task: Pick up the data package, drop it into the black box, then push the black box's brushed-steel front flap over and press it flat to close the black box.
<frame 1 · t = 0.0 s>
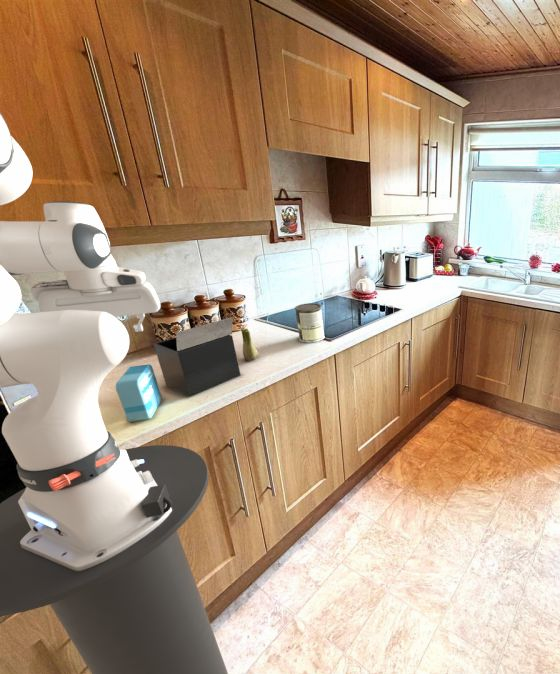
hand: (114, 334, 85), 25 cm above the worktop, tool pointing down, fingers open, 8 cm apart
coffee can: (312, 338, 152), on the worktop
black box: (204, 380, 115), on the worktop
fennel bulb: (251, 359, 131), on the worktop
flap: (206, 333, 105), point 18 cm above the worktop, hinge at 110.0°
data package: (146, 411, 99), on the worktop
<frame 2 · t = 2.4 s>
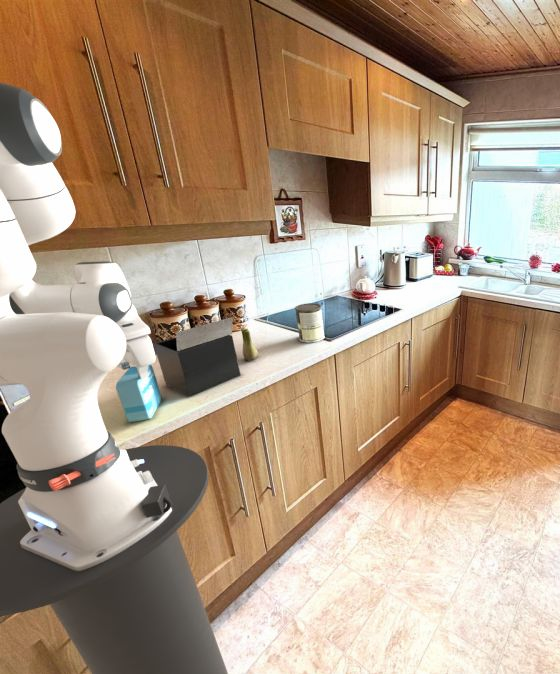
hand: (134, 372, 95), 12 cm above the worktop, tool pointing down
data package: (146, 411, 99), on the worktop, touching gripper
everything else where it was.
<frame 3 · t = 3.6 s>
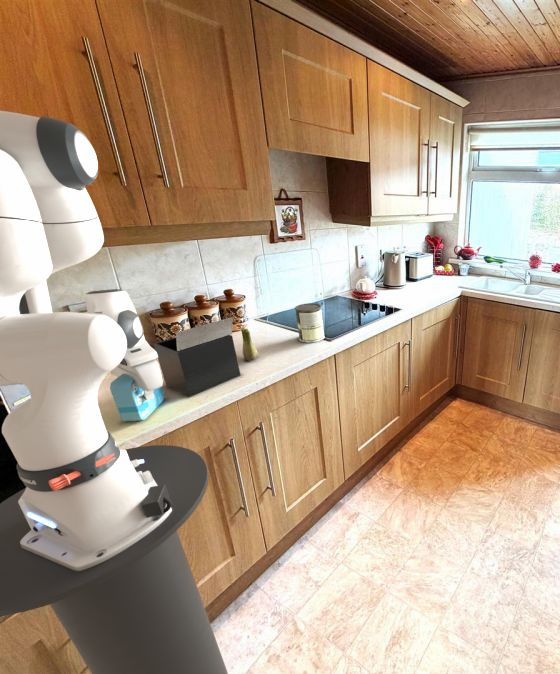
hand: (141, 394, 97), 5 cm above the worktop, tool pointing down, fingers closed on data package, 7 cm apart
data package: (145, 411, 99), on the worktop, touching gripper
everything else where it was.
when the fingers open (11 cm above the worktop, at t = 10.1 s): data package drops 6 cm, resting on black box.
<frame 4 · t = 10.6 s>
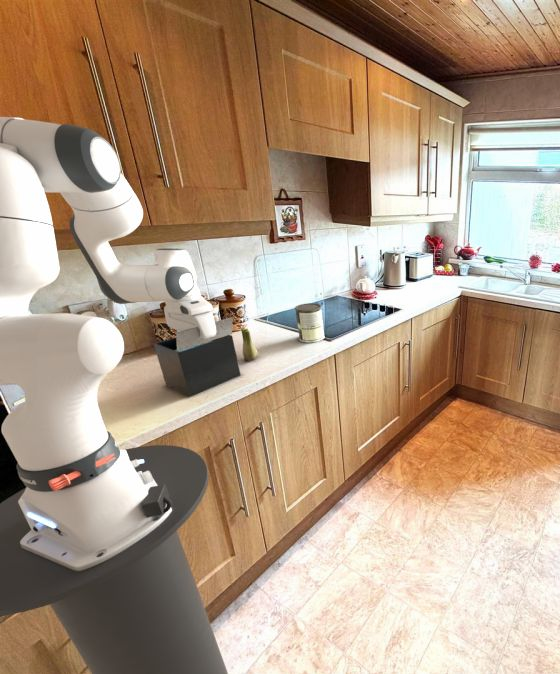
hand: (195, 345, 111), 13 cm above the worktop, tool pointing down, fingers open, 8 cm apart
flap: (206, 333, 105), point 18 cm above the worktop, hinge at 110.0°, touching gripper
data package: (203, 379, 115), resting on black box
everything else where it was.
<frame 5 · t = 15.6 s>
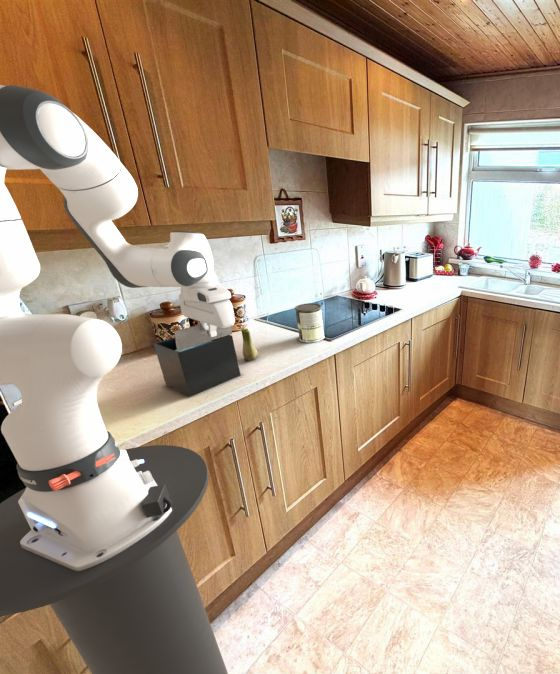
hand: (211, 335, 105), 18 cm above the worktop, tool pointing down, fingers closed
flap: (205, 332, 106), point 18 cm above the worktop, hinge at 102.8°, touching gripper
everything else where it was.
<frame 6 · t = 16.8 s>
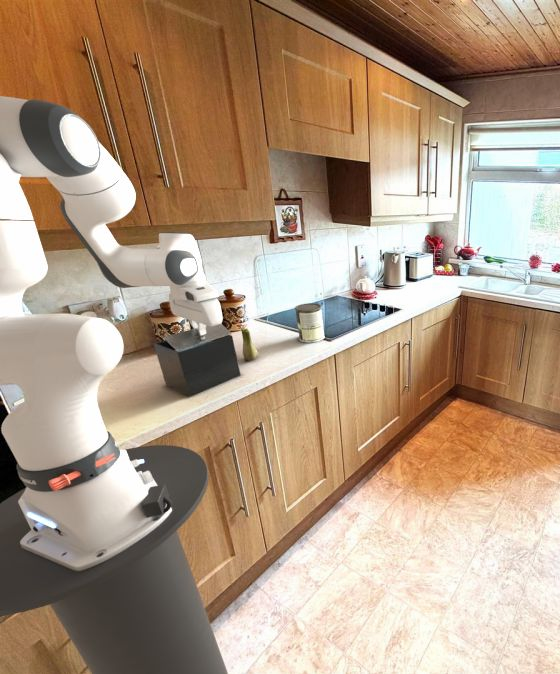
hand: (200, 333, 107), 17 cm above the worktop, tool pointing down, fingers closed
flap: (199, 335, 108), point 17 cm above the worktop, hinge at 27.7°
everything else where it was.
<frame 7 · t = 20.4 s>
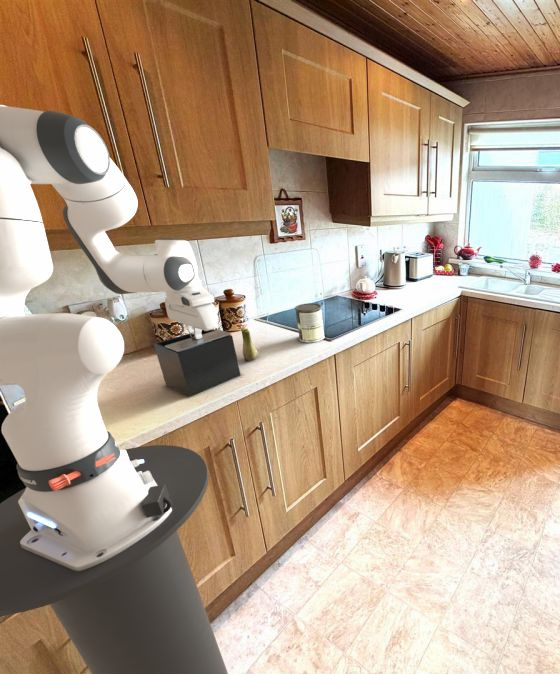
hand: (196, 338, 109), 15 cm above the worktop, tool pointing down, fingers closed, pressing on flap
flap: (199, 339, 108), point 15 cm above the worktop, hinge at 0.3°, touching gripper
everything else where it was.
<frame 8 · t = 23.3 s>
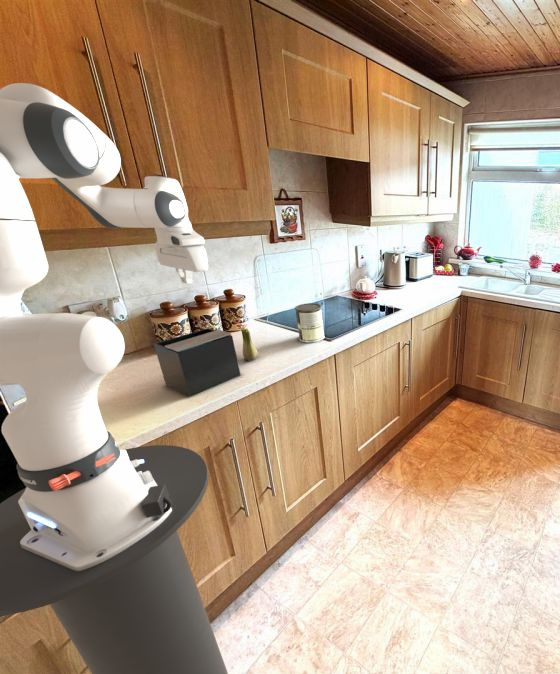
hand: (187, 283, 109), 31 cm above the worktop, tool pointing down, fingers closed
flap: (199, 339, 108), point 15 cm above the worktop, hinge at 0.0°
everything else where it was.
at the end: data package inside the target area in the black box (0.3 cm from its centre), point 0.3 cm above the black box's base; flap at +0° (first picture: +110°) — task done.
